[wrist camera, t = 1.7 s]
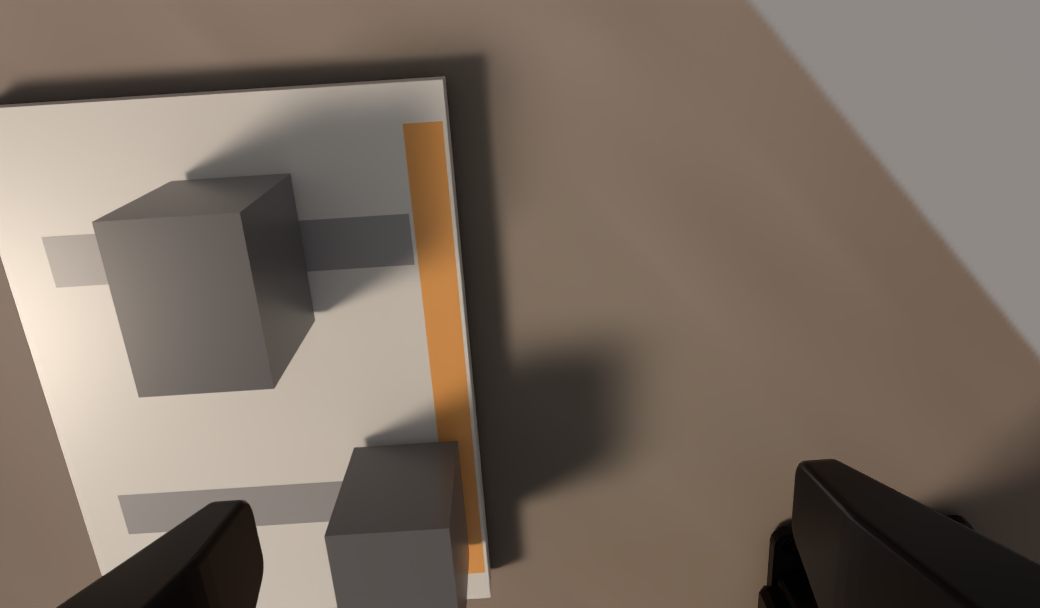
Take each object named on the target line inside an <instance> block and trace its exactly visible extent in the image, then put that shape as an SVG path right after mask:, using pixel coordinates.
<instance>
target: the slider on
mask: <svg viewBox="0 0 1040 608" xmlns="http://www.w3.org/2000/svg"><path fill="white" fill-rule="evenodd" d="M324 538H325V543H326V549H327V554H328V560H329V565H330V570H331V576H332V581H333V587H334V592H335V598H336V603H337V608H466V604H467V587H468V570H469V545H468V535H467V525H466V515H465V506H464V496H463V486H462V476H461V467H460V457H459V447H458V441H448V442H432V443H417V444H401V445H385V446H370V447H354V449H353V452H352V455H351V458H350V461H349V464H348V467H347V470H346V473H345V476H344V479H343V482H342V485H341V488H340V491H339V494H338V497H337V500H336V503H335V506H334V509H333V512H332V515H331V518H330V521H329V524H328V527H327V530H326V533H325V536H324Z"/></svg>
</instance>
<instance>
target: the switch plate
mask: <svg viewBox="0 0 1040 608" xmlns="http://www.w3.org/2000/svg"><path fill="white" fill-rule="evenodd" d="M288 173H290V174H291V180H292V186H293V192H294V197H295V203H296V209H297V215H298V221H299V227H300V233H301V239H302V245H303V251H304V257H305V263H306V269H307V275H308V281H309V287H310V293H311V298H312V304H313V310H314V316H315V322H314V323H313V325H312V327H311V328H310V330H309V332H308V333H307V335H306V337H305V338H304V340H303V342H302V343H301V345H300V347H299V348H298V350H297V352H296V353H295V355H294V357H293V358H292V360H291V362H290V363H289V365H288V367H287V368H286V370H285V372H284V373H283V375H282V377H281V378H280V380H279V382H278V383H277V385H276V387H275V388H274V389H264V390H249V391H233V392H218V393H202V394H186V395H171V396H155V397H140V398H139V396H138V393H137V389H136V385H135V381H134V378H133V374H132V370H131V366H130V363H129V359H128V355H127V352H126V348H125V344H124V340H123V337H122V333H121V329H120V325H119V322H118V318H117V314H116V311H115V307H114V303H113V299H112V296H111V292H110V288H109V284H108V281H107V277H106V273H105V269H104V266H103V262H102V258H101V255H100V251H99V247H98V243H97V240H96V236H95V232H94V228H93V225H92V222H93V221H95V220H97V219H99V218H101V217H103V216H104V215H106V214H108V213H110V212H112V211H114V210H116V209H118V208H120V207H122V206H124V205H126V204H128V203H130V202H132V201H133V200H135V199H137V198H139V197H141V196H143V195H145V194H147V193H149V192H151V191H153V190H155V189H157V188H159V187H161V186H162V185H164V184H166V183H168V182H170V181H179V180H194V179H210V178H225V177H241V176H256V175H272V174H288ZM0 256H1V259H2V262H3V265H4V268H5V271H6V275H7V278H8V281H9V284H10V287H11V290H12V293H13V297H14V300H15V303H16V306H17V309H18V312H19V316H20V319H21V322H22V325H23V328H24V331H25V334H26V338H27V341H28V344H29V347H30V350H31V353H32V357H33V360H34V363H35V366H36V369H37V372H38V375H39V379H40V382H41V385H42V388H43V391H44V394H45V398H46V401H47V404H48V407H49V410H50V413H51V416H52V420H53V423H54V426H55V429H56V432H57V435H58V439H59V442H60V445H61V448H62V451H63V454H64V457H65V461H66V464H67V467H68V470H69V473H70V476H71V479H72V483H73V486H74V489H75V492H76V495H77V498H78V502H79V505H80V508H81V511H82V514H83V517H84V520H85V524H86V527H87V530H88V533H89V536H90V539H91V543H92V546H93V549H94V552H95V555H96V558H97V561H98V565H99V568H100V571H101V574H102V576H104V575H105V574H106V573H108V572H109V571H111V570H112V569H114V568H115V567H117V566H118V565H120V564H121V563H123V562H124V561H126V560H127V559H129V558H130V557H131V556H133V555H134V554H136V553H137V552H139V551H140V550H142V549H143V548H145V547H146V546H148V545H149V544H151V543H152V542H153V541H155V540H156V539H158V538H159V537H161V536H162V535H164V534H165V533H167V532H168V531H170V530H171V529H173V528H174V527H175V526H177V525H178V524H180V523H181V522H183V521H184V520H186V519H187V518H189V517H190V516H192V515H193V514H195V513H196V512H197V511H199V510H200V509H202V508H203V507H205V506H206V505H208V504H209V503H211V502H215V501H229V500H245V501H247V502H248V503H249V504H250V506H251V508H252V511H253V515H254V519H255V523H256V528H257V532H258V537H259V541H260V545H261V550H262V554H263V562H264V570H263V578H262V583H261V587H260V592H259V596H258V601H257V605H256V608H336V607H337V603H336V598H335V592H334V587H333V581H332V576H331V570H330V565H329V560H328V554H327V549H326V543H325V538H324V536H325V533H326V530H327V527H328V524H329V521H330V518H331V515H332V512H333V509H334V506H335V503H336V500H337V497H338V494H339V491H340V488H341V485H342V482H343V479H344V476H345V473H346V470H347V467H348V464H349V461H350V458H351V455H352V452H353V449H354V447H370V446H385V445H401V444H417V443H432V442H448V441H458V447H459V457H460V467H461V476H462V486H463V496H464V506H465V515H466V525H467V535H468V545H469V570H468V587H467V599H476V598H491V571H490V560H489V549H488V538H487V527H486V516H485V505H484V494H483V483H482V472H481V461H480V450H479V439H478V428H477V417H476V406H475V395H474V384H473V373H472V362H471V351H470V341H469V330H468V319H467V308H466V297H465V286H464V275H463V264H462V253H461V242H460V231H459V220H458V209H457V198H456V187H455V176H454V165H453V154H452V143H451V132H450V121H449V110H448V99H447V89H446V78H445V76H441V77H426V78H410V79H395V80H379V81H364V82H348V83H333V84H317V85H301V86H286V87H270V88H255V89H239V90H224V91H208V92H192V93H177V94H161V95H146V96H130V97H115V98H99V99H84V100H68V101H52V102H37V103H21V104H6V105H0Z"/></svg>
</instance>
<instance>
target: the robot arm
mask: <svg viewBox="0 0 1040 608" xmlns="http://www.w3.org/2000/svg"><path fill="white" fill-rule="evenodd" d="M788 540H792V542H791V543H789V544H787V545H783V543H784V542H786V541H788ZM263 570H264V562H263V554H262V550H261V545H260V541H259V537H258V532H257V528H256V523H255V519H254V515H253V511H252V508H251V506H250V504H249V503H248V502H247V501H245V500H229V501H215V502H211V503H209V504H208V505H206V506H205V507H203V508H202V509H200V510H199V511H197V512H196V513H195V514H193V515H192V516H190V517H189V518H187V519H186V520H184V521H183V522H181V523H180V524H178V525H177V526H175V527H174V528H173V529H171V530H170V531H168V532H167V533H165V534H164V535H162V536H161V537H159V538H158V539H156V540H155V541H153V542H152V543H151V544H149V545H148V546H146V547H145V548H143V549H142V550H140V551H139V552H137V553H136V554H134V555H133V556H131V557H130V558H129V559H127V560H126V561H124V562H123V563H121V564H120V565H118V566H117V567H115V568H114V569H112V570H111V571H109V572H108V573H106V574H105V575H104V576H102V577H101V578H99V579H98V580H96V581H95V582H93V583H92V584H90V585H89V586H87V587H86V588H84V589H83V590H82V591H80V592H79V593H77V594H76V595H74V596H73V597H71V598H70V599H68V600H67V601H65V602H64V603H62V604H61V605H60V606H58V607H57V608H256V605H257V601H258V596H259V592H260V587H261V583H262V578H263ZM758 608H1040V564H1038V563H1036V562H1034V561H1033V560H1031V559H1029V558H1027V557H1025V556H1023V555H1021V554H1019V553H1017V552H1015V551H1013V550H1011V549H1009V548H1007V547H1005V546H1003V545H1001V544H999V543H997V542H995V541H994V540H992V539H990V538H988V537H986V536H984V535H982V534H980V533H978V532H976V531H974V529H973V528H972V526H971V525H970V524H969V523H968V522H967V521H966V519H965V518H963V517H961V516H957V515H951V516H945V515H943V514H941V513H939V512H937V511H935V510H933V509H931V508H929V507H927V506H925V505H923V504H921V503H919V502H917V501H916V500H914V499H912V498H910V497H908V496H906V495H904V494H902V493H900V492H898V491H896V490H894V489H892V488H890V487H888V486H886V485H884V484H882V483H880V482H878V481H877V480H875V479H873V478H871V477H869V476H867V475H865V474H863V473H861V472H859V471H857V470H855V469H853V468H851V467H849V466H847V465H845V464H843V463H841V462H839V461H837V460H835V459H823V460H809V461H802V462H801V463H800V464H799V465H798V467H797V469H796V474H795V485H794V498H793V511H792V526H784V527H780V528H778V529H777V530H775V531H774V532H773V534H772V535H771V538H770V547H769V562H768V576H767V586H763V588H762V589H761V590H760V592H759V599H758Z"/></svg>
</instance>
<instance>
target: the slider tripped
mask: <svg viewBox="0 0 1040 608" xmlns="http://www.w3.org/2000/svg"><path fill="white" fill-rule="evenodd" d="M92 225H93V228H94V232H95V236H96V240H97V243H98V247H99V251H100V255H101V258H102V262H103V266H104V269H105V273H106V277H107V281H108V284H109V288H110V292H111V296H112V299H113V303H114V307H115V311H116V314H117V318H118V322H119V325H120V329H121V333H122V337H123V340H124V344H125V348H126V352H127V355H128V359H129V363H130V366H131V370H132V374H133V378H134V381H135V385H136V389H137V393H138V396H139V398H140V397H155V396H171V395H186V394H202V393H218V392H233V391H249V390H264V389H274V388H275V387H276V385H277V383H278V382H279V380H280V378H281V377H282V375H283V373H284V372H285V370H286V368H287V367H288V365H289V363H290V362H291V360H292V358H293V357H294V355H295V353H296V352H297V350H298V348H299V347H300V345H301V343H302V342H303V340H304V338H305V337H306V335H307V333H308V332H309V330H310V328H311V327H312V325H313V323H314V322H315V316H314V310H313V304H312V298H311V293H310V287H309V281H308V275H307V269H306V263H305V257H304V251H303V245H302V239H301V233H300V227H299V221H298V215H297V209H296V203H295V197H294V192H293V186H292V180H291V174H290V173H288V174H272V175H256V176H241V177H225V178H210V179H194V180H179V181H170V182H168V183H166V184H164V185H162V186H161V187H159V188H157V189H155V190H153V191H151V192H149V193H147V194H145V195H143V196H141V197H139V198H137V199H135V200H133V201H132V202H130V203H128V204H126V205H124V206H122V207H120V208H118V209H116V210H114V211H112V212H110V213H108V214H106V215H104V216H103V217H101V218H99V219H97V220H95V221H93V222H92Z"/></svg>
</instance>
